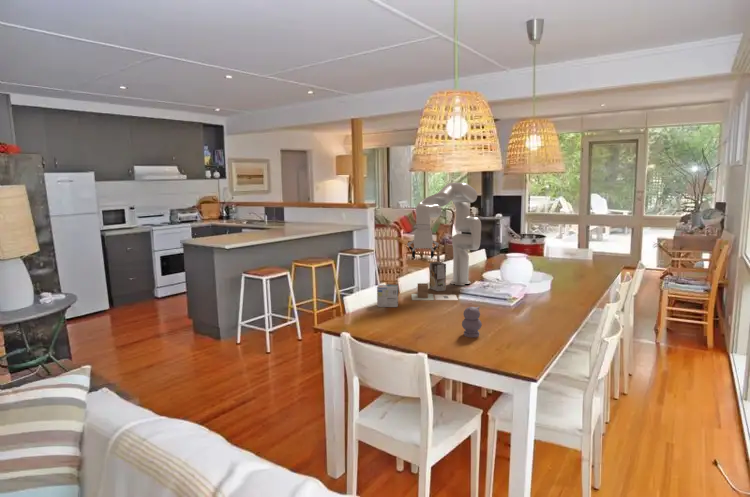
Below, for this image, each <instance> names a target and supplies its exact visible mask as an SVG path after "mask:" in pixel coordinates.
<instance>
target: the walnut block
mask: <svg viewBox="0 0 750 497" xmlns="http://www.w3.org/2000/svg"><path fill="white" fill-rule="evenodd" d="M416 292H417V293H416V294H417V296H418V298H428V294H429V284H428V283H424V282H423V283H421V282H420V283H417V291H416Z"/></svg>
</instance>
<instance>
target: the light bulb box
mask: <svg viewBox="0 0 750 497" xmlns="http://www.w3.org/2000/svg"><path fill="white" fill-rule="evenodd" d="M376 301H377V302H376V303H377V304H376V307H378V308H398V307H399V306H398V305H399V284H379V283H378V285H377V287H376Z"/></svg>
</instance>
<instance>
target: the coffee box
mask: <svg viewBox="0 0 750 497" xmlns="http://www.w3.org/2000/svg"><path fill="white" fill-rule="evenodd" d="M446 282H447V263H444V262H439V261H434V262H433V261H432V262H429V289H430V290H433V291H436V292H443V291H446V288H447V287H446V285H447V283H446Z"/></svg>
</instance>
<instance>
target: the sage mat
mask: <svg viewBox="0 0 750 497" xmlns="http://www.w3.org/2000/svg"><path fill="white" fill-rule="evenodd" d="M410 294H411V301H435V296H434V294H433V293H428V298H418V296H417V293H410Z"/></svg>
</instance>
